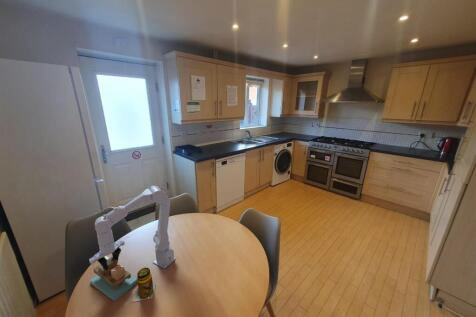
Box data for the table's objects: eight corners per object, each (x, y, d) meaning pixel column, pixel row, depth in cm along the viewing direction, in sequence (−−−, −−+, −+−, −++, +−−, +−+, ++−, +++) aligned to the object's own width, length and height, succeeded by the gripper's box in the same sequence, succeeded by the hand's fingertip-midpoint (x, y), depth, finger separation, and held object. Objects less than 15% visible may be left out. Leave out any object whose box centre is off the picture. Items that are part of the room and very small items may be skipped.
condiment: (152, 298, 85) (149, 276, 82) (132, 302, 83) (128, 280, 80) (155, 284, 92) (153, 263, 89) (137, 287, 90) (133, 267, 87)
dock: (137, 282, 93) (137, 279, 92) (114, 301, 83) (113, 298, 83) (113, 267, 101) (113, 264, 101) (90, 283, 92) (89, 280, 92)
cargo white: (111, 265, 94) (110, 258, 93) (103, 271, 91) (102, 264, 90) (107, 262, 96) (106, 255, 95) (98, 267, 92) (97, 261, 91)
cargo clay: (125, 274, 89) (124, 267, 88) (116, 280, 86) (115, 273, 85) (120, 270, 91) (119, 264, 90) (111, 277, 88) (110, 270, 87)
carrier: (130, 277, 90) (128, 263, 88) (116, 289, 84) (113, 274, 82) (109, 262, 98) (106, 249, 96) (94, 272, 92) (91, 258, 90)
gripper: (117, 230, 95) (120, 253, 98) (83, 248, 82) (89, 274, 85) (125, 234, 92) (129, 258, 95) (92, 253, 79) (97, 280, 82)
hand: (110, 266), depth 90 cm, fingers closed on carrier, 4 cm apart
